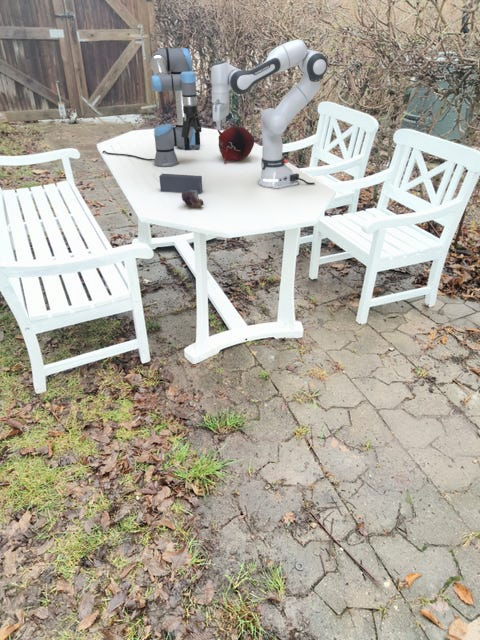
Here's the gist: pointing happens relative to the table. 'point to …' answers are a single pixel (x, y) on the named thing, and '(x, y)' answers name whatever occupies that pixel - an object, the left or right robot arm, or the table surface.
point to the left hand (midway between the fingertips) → (192, 147)
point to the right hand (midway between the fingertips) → (221, 127)
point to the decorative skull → (235, 143)
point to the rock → (192, 198)
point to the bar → (180, 183)
